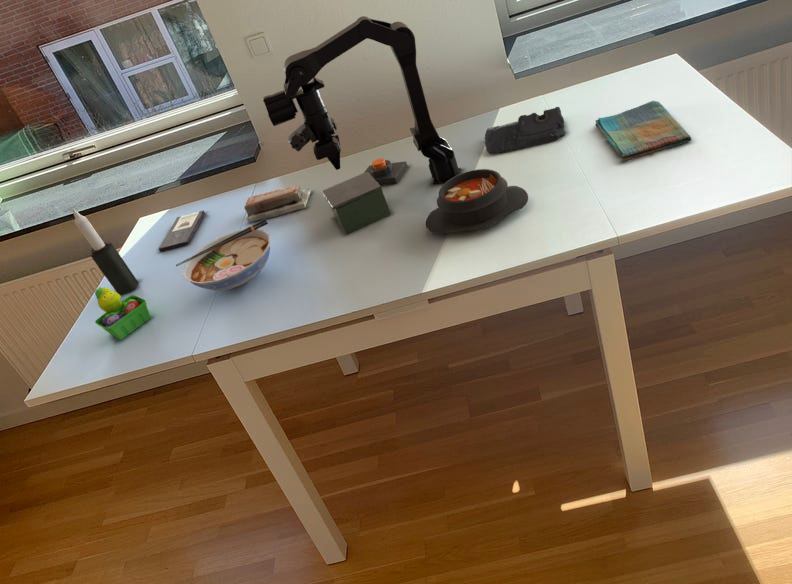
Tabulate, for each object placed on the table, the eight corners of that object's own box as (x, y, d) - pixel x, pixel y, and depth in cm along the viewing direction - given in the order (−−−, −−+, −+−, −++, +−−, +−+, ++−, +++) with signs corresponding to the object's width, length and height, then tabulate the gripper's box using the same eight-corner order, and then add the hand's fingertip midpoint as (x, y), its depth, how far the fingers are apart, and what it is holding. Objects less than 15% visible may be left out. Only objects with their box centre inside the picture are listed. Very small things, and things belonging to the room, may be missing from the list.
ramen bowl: (200, 322, 166) (182, 294, 161) (188, 281, 183) (172, 255, 178) (296, 275, 170) (282, 247, 165) (276, 240, 187) (262, 213, 182)
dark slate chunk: (486, 133, 201) (482, 118, 198) (562, 115, 196) (560, 98, 193) (485, 157, 189) (481, 141, 186) (567, 138, 184) (564, 121, 181)
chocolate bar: (158, 248, 201) (177, 217, 215) (160, 251, 202) (178, 220, 216) (186, 241, 200) (203, 210, 213) (188, 244, 200) (205, 213, 214)
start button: (388, 163, 197) (386, 157, 195) (383, 169, 194) (381, 164, 193) (376, 164, 198) (374, 159, 197) (372, 171, 196) (369, 165, 195)
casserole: (521, 183, 173) (514, 152, 168) (537, 219, 158) (529, 186, 153) (424, 213, 175) (414, 183, 170) (431, 251, 161) (420, 220, 155)
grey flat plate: (333, 209, 173) (332, 207, 173) (322, 193, 182) (321, 191, 182) (381, 188, 175) (380, 186, 175) (368, 174, 184) (367, 171, 184)
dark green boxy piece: (346, 234, 178) (335, 209, 174) (335, 217, 187) (324, 193, 183) (391, 214, 180) (381, 189, 175) (377, 198, 189) (368, 174, 184)
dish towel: (659, 107, 183) (658, 97, 182) (693, 141, 165) (692, 131, 164) (595, 127, 185) (593, 118, 183) (621, 163, 167) (620, 153, 165)
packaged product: (240, 209, 197) (247, 192, 204) (247, 224, 200) (255, 207, 207) (299, 193, 193) (305, 177, 201) (306, 208, 196) (311, 192, 204)
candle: (122, 285, 192) (66, 206, 177) (139, 280, 192) (84, 200, 176) (117, 296, 188) (59, 216, 173) (134, 290, 188) (78, 210, 172)
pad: (408, 167, 199) (404, 155, 196) (396, 183, 193) (392, 171, 190) (371, 171, 203) (367, 160, 201) (359, 187, 197) (354, 176, 195)
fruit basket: (118, 345, 168) (91, 308, 161) (103, 335, 174) (75, 300, 167) (157, 316, 174) (132, 279, 167) (141, 308, 179) (116, 272, 172)
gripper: (282, 109, 176) (307, 165, 186) (282, 135, 161) (309, 195, 171) (323, 94, 176) (346, 151, 185) (327, 119, 161) (352, 179, 171)
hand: (338, 168), depth 178 cm, fingers closed
